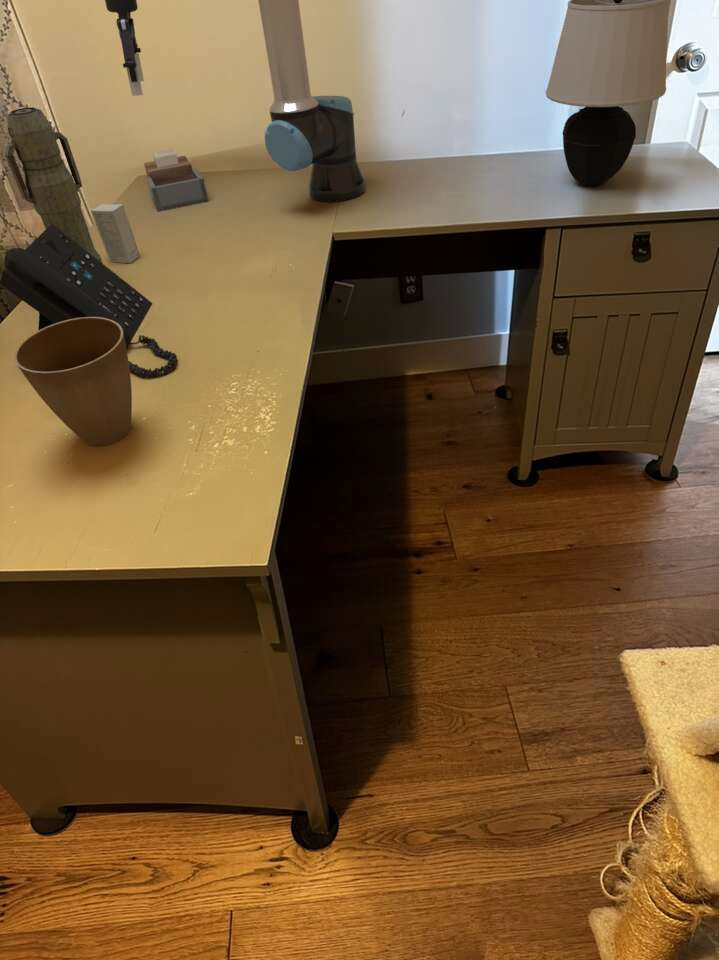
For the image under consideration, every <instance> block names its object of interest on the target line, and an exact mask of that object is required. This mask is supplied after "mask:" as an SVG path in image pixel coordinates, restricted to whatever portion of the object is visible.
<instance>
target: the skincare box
mask: <svg viewBox="0 0 719 960" xmlns="http://www.w3.org/2000/svg"><path fill="white" fill-rule="evenodd" d="M90 212H91V215H92V217H93V221H94V223H95V226H96V228H97V231H98V234H99V237H100V240H101V242H102V245H103V248H104V249H105V253H106V256H107V259H108V261H109V263H123V264H132V262H134V261H135V260H137V259H138V258H139V257H140V256H141V254H140V252H139V248H138V245H137V243H136V240H135V239H136V238H135V237H134V233H133V230H132V228H131V225H130V221H129V218H128V215H127V212H126V209H125V206H124V204H123V203H100V204H99V205H97V206H96V207H94V208H92V209H90Z"/></svg>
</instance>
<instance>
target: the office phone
mask: <svg viewBox="0 0 719 960" xmlns="http://www.w3.org/2000/svg"><path fill="white" fill-rule="evenodd" d="M102 263H103V262H102ZM102 263H101V262H100V261H99V260H97V259H96V258H95V257H94V256H92V255H91V254H90V253H89V252H87V251H86V250H85V249H83V248H82V247H81V246H80V245H78V244H77V243H76V242H75V241H73V240H72V239H71V238H70V237H68V236H67V235H66V234H65V233H63V232H62V231H61V230H59V229H58V228H57V227H56V226H54V225H53V224H51V225H50V226H49V227H48V228H47V229H44V230H43V232H41V234H39V235H38V237H36V238H35V239H34V240H33V241H32V242H31V243H30V244H29V245H28V246H27V247H26V248H25V249H24V248H22V247H12V248H10V249H7V250H6V251H5V254H4V263H3V265H4V271H3V273H2V276H1V278H0V286H2V287H3V288H4V289H5V290H7V291H9V292H10V293H12V294H13V295H14V296H15V297H17V298H19V300H21V301H22V302H24V303H26V304H27V305H28V306H29V307H31V308H32V309H34V310H35V311H37V312H38V314H39V315H38V329H37V331H39V330H41V329H43V328H45V327H47V326H50V325H52V324H55V323H58V322H61V321H65V320H69V319H74V318H82V317H102V318H107V319H110V320H113V321H115V322H117V323H118V324H119V325H120V326H121V327H122V329H123V334H124V338H125V343H126V349H127V348H128V347H129V345H138V344H140V343H141V344H143V345H146V346H148V347H149V348H150V350H151V351H152V352H153V353H154V354H155V355H156V356H157V357H158V358H159V357H160V358H161V359H162V358H164V359H166V360H168V361H167V362H166V364H165V365H161V366H160V368H158V367H155V368H154V369H153V370H152V368H149V369H148V368H145V367H141V366H139V365H137V364H135V363H132V361H129V368H130V373H134V374H135V375H137V376H139V377H141V378H155V377H156V378H157V377H160V376H163V375H167V374H169V373H172V371H173V370H176V367H177V363H178V362H179V360H178V357H177V355H176V353H175V352H172V351H171V350H170V351H169V350H167V349H166V350H164V349H163V348H161V347H160V345H159V344H158V341H156V339H155V338H151V337H149V336H146V335H143V334H141V335H139V336H138V341H136V342H132V339H133V337H134V334H135V333H136V331H137V329H138V328H139V327H140V324H141V323H142V321H143V320H144V318H145V316H146V315H147V313H148V311H149V310H150V308H151V306H152V304H153V302H152V301H150V299H148V298H147V297H145V296H144V295H143V294H142V293H141V292H139V291H138V290H136V288H134V287H133V286H132V285H130V284H129V283H128V282H126V281H125V280H124V279H123V278H121V277H120V276H119V275H117V273H116V272H114V271H113V270H111V269H110V268H108V266H106V265H105V264H104V263H103V264H102ZM127 350H128V349H127Z"/></svg>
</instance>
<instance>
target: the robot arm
mask: <svg viewBox="0 0 719 960" xmlns="http://www.w3.org/2000/svg"><path fill="white" fill-rule="evenodd" d="M104 1H105V2H104V3H105V6H106V10H107V11H108V12H111V13H116V14H117V16H118V17H117V18H116V27H117V29H118V35H119V38H120V41H121V48H122V52H123V59H124V63H122V67H123V68H124V69H126V72H127V77H128V82H129V88H130V93H131V96H132V97H135V96H136V97H137V96H143V89H142V85H141V84H142V83H141V82H144V81H145V80H144V79H145V78H144V75H143V74H144V73H143V69H142V64H141V58H140V55H139V54H140V53H142V51H141V48H140V47H139V45H138V43H137V39H136V30H135V22H134V18H132V15H131V13H132V12H133V13H134V12H136V11H137V10H138V1H137V0H104ZM258 5H259V11H260V17H261V18H260V19H261V25H262V30H263V36H264V42H265V43H264V44H265V49H266V55H267V61H268V67H269V73H270V74H269V75H270V80H271V85H272V91H273V92H272V93H273V99H274V100H273V102H272V104H271V106H270V107H269V115H270V120H271V122H270V123H269V124H268V126H267V127H266V130H265V132H264V141H265V142H264V144H265V148H266V150H267V152H268V154H269V156H270V157H271V159H272V160H273V162H275V163H276V164H277V166H279V167H280V168H282V169H283V170H285V171H289V172H297V171H299V170H305V169H306V168H309V166H310V165H312V167H311V171H310V178H309V183H308V193H309V196H310V198H311V199H313V200H315V201H321V202H341V201H342V202H343V201H347V200H352V199H355V198H358V197H359V195H360V196H362V195H363V194H364V193H365V191H366V184H365V179H364V177H363V174H362V171H361V168H360V165H359V163H358V160H357V151H356V150H357V149H356V148H357V147H356V137H355V135H356V134H355V123H354V120H355V119H354V115H355V114H354V111H353V103H352V100H351V99H350V98H349V97H347V96H343V95H313V96H312V94H311V87H310V78H309V71H308V64H307V63H308V62H307V57H306V56H307V55H306V47H305V39H304V33H303V26H302V25H303V24H302V18H301V10H300V2H299V0H258ZM363 192H364V193H363ZM362 193H363V194H362Z"/></svg>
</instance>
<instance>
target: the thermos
mask: <svg viewBox="0 0 719 960" xmlns="http://www.w3.org/2000/svg"><path fill="white" fill-rule="evenodd" d="M6 121H7V131H8V134H9V138H10V139H11V141H10V142H11V143H9V144H7V145H6V147H5V152H4V156H5V158H6V160H7V164H8V166H9V168H10V170H11V173H12V175H13V177H14V181H15V183H16V185H17V188H18V190H19V193H20V195H21V198H22V199H23V200H24V201H26V202H28V203H31V204H32V205H33V208H34V210H35V212H36V213H37V214H38V215H39V217H40V218H41V221H42V223H43V226H44V230H46V229H47V228H48V227H49V226H50V225H51V224H53V225H54V226H56V227H57V228H58V229H59V230H61V231H62V232H63V233H65V234H66V235H67V236H68V237H70V238H71V239H72V240H73V241H75V242H76V243H77V244H78V245H80V246H81V247H82V248H83V249H85V250H86V251H87V252H89V253H90V254H91V255H92V256H94V257H95V258H96V259H97V260H99V261H100V262H101V263H102V264H104V263H103V259H102V257H101V255H100V254H99V252H98V251H97V250H96V248H95V246H94V243H93V239H92V237H91V233H90V230H89V228H88V225H87V223H86V222H87V221H86V220H85V217H84V213H83V211H82V208H81V207H82V205H81V204H82V201H81V198H80V195H79V193H80V189H81V188H83V184H82V179H81V176H80V174H79V173H80V172H79V170H78V167H77V164H76V161H75V158H74V155H73V151H72V148H71V147H70V143H69V139H68V138H67V137H66V136H65V135H64V134H62V133H61V132H59V131H54V130H53V127H52V124H51V123H50V121H49V120H48V118H47V117H46V115H45V114H44V112H43V110H42V109H40V108H37V107H33V106H32V107H22V108H17V109H14V110H11V111H10V112H9V114H7V115H6ZM57 141H59V142H60V145H61V147H62V150H63V153H64V155H65V158H66V162H67V165H68V167H69V169H68V168H67V166H66V164H65V162H64V159H62V156H61V150H60V147H59V144H58V142H57ZM14 151H15V152H16V156H17V158H18V160H19V161H20V163H21V165H22V171H23V173H24V178H23V176H22V174H21V171H20V168H19V167H18V164H17V161H16V159H15V156H14ZM24 181H25V182H24Z"/></svg>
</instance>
